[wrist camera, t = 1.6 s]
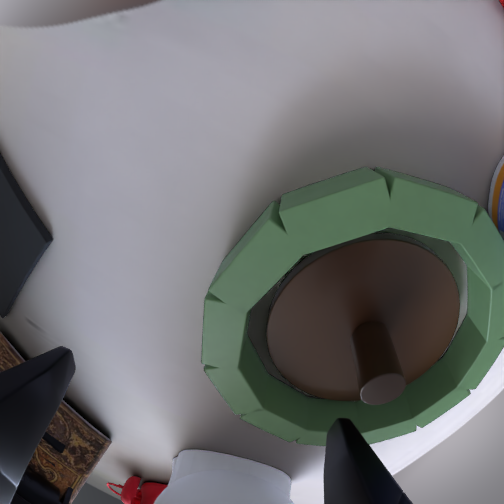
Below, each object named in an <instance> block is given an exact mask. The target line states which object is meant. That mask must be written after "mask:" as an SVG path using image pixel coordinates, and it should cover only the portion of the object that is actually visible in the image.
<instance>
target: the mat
mask: <svg viewBox="0 0 504 504" xmlns="http://www.w3.org/2000/svg"><path fill="white" fill-rule="evenodd" d="M52 240H53V238H52V237H51V235H50V234H49V232H48V231H47V229H46V228H45V226H44V225H43V224H42V222H41V221H40V219H39V218H38V216H37V215H36V213H35V211H34V210H33V208H32V207H31V205H30V204H29V202H28V200H27V199H26V197H25V196H24V194H23V192H22V191H21V189H20V187H19V186H18V184H17V182H16V181H15V179H14V177H13V175H12V174H11V172H10V170H9V168H8V166H7V165H6V163H5V161H4V159H3V157H2V155H1V153H0V316H1V317H2V318H4V317H5V316H7V314H8V312H9V310H10V308H11V306H12V304H13V303H14V301H15V299H16V297H17V295H18V294H19V292H20V290H21V289H22V287H23V285H24V283H25V282H26V280H27V278H28V277H29V275H30V274H31V272H32V270H33V269H34V267H35V266H36V264H37V262H38V261H39V259H40V258H41V256H42V255H43V253H44V252H45V250H46V249H47V247H48V246H49V244H50V243H51V242H52Z"/></svg>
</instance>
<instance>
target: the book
mask: <svg viewBox="0 0 504 504" xmlns="http://www.w3.org/2000/svg"><path fill="white" fill-rule="evenodd" d="M23 362H25V360H24V359H23V358H22V357H21V355H20V354H19V353H18V352H17V351H16V349H15V348H14V347H13V346H12V345H11V344H10V343H9V341H8V340H7V339H6V338H5V337H4V336H3V334H2V333H1V332H0V372H2V371H5V370H7V369H9V368H12V367H14V366H16V365H19V364H21V363H23ZM46 432H47V433H49V434H50V435H51V436H53V437H54V438H56V439H57V440H58V441H60V442H61V443H63V444H64V445H66V446H65V449H64V452H63V453H59V452H58V451H57V450H55V449H54V448H53V447H52V446H50V445H49V444H48V443H47V442H46V441H45V440H43V439H41V440H40V442H39V444H38V446H37V448H36V450H35V452H34V454H33V456H32V458H31V460H30V462H29V464H28V466H29V467H31V468H32V469H33V470H34V471H36V472H37V473H38V474H40V475H41V476H42V477H44V478H45V479H47V480H48V481H49V482H51V483H52V484H54V485H55V486H57V487H58V488H59V489H60V497H59V500H60V499H61V498H62V496H63V495H64V493H65V491H66V490H67V488H68V487H70V488H72V489H74V490H73V492H72V495H71V498H70V502H69V504H71V503H72V501H73V500H74V498H75V497H76V495H77V494H78V492H79V491H80V489H81V488H82V486H83V485H84V483H85V482H86V480H87V479H88V477H89V476H90V474H91V473H92V471H93V470H94V468H95V467H96V465H97V464H98V462H99V461H100V459H101V458H102V456H103V455H104V453H105V452H106V450H107V449H108V447H109V446H110V444H111V443H112V441H111V440H110V439H109V438H107V437H106V436H104V435H103V434H102V433H101V432H99V431H98V430H97V429H96V428H94V427H93V426H92V425H91V424H89V423H88V422H87V421H86V420H85V419H84V418H82V417H81V416H80V415H79V414H78V413H77V412H75V411H74V410H73V409H72V408H71V407H70V406H69V405H68V404H67V403H66V402H65V401H63V400H62V402H61V404H60V406H59V408H58V410H57V412H56V413H55V415H54V417H53V419H52V420H51V422H50V424H49V426H48V428H47V429H46ZM40 455H41V456H40ZM43 457H44V458H45V459H47V460H48V461H50V462H51V463H53V464H55V467H54V466H53V465H52V464H50V463H49V462H48V461H47V460H45V459H44V458H43Z"/></svg>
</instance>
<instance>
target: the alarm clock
mask: <svg viewBox="0 0 504 504" xmlns="http://www.w3.org/2000/svg"><path fill="white" fill-rule="evenodd" d="M140 480H141V478H139V477H136V476H132V477H130V478H129V479H128V480H127V481H126V483H125V484H124V486H122V485H120V484H119V485H116V484H113V483H107V486H108V487H109V488H110V489H111V490H112V491H113V492H114V493H116V494H118V495H120V496H121V500H122V501H123V502H124V503H125V504H154V502H155V500H156V499H157V497H158V496H159V495H160V494H161V493H162V491H163V490H164V489H165V488H166V487H168V485H164V484H159V483H144V484H142V486H141V489H137V488H138V486H139V483H140ZM109 484H110V485H114V486H116V487H119V488H123V489H122V492H121V494H119V493H117V492H116V491H114V490H113V489H112V488H111V487H110V486H109Z"/></svg>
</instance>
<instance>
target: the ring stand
mask: <svg viewBox="0 0 504 504" xmlns="http://www.w3.org/2000/svg"><path fill="white" fill-rule="evenodd" d="M459 309H460V301H459V292H458V288H457V284H456V282H455V279H454V277H453V275H452V273H451V271H450V270H449V268H448V267H447V265H446V264H445V263H444V262H443V261H442V260H441V259H440V258H439V257H438V256H437V255H436V254H435V253H434V252H433V251H432V250H431V249H430V248H428V247H427V246H425V245H424V244H422V243H420V242H418V241H416V240H414V239H412V238H409V237H406V236H402V235H398V234H391V233H371V234H368V235H365V236H362V237H359V238H356V239H352V240H349V241H346V242H343V243H340V244H337V245H334V246H331V247H328V248H325V249H321V250H318V251H315V252H314V253H312V254H311V255H309V256H308V257H307V258H305V259H304V260H303V261H302V262H300V263H299V264H298V265H297V266H296V267H295V268H294V269H293V270H292V271H291V272H290V273H289V275H288V276H287V277H286V278H285V279H284V281H283V282H282V284H281V285H280V287H279V288H278V290H277V292H276V294H275V296H274V299H273V301H272V304H271V307H270V311H269V316H268V323H267V331H266V335H267V346H268V350H269V354H270V356H271V359H272V361H273V363H274V364H275V366H276V368H277V369H278V371H279V372H280V373H281V374H282V375H283V377H284V378H285V379H287V380H288V381H289V382H290V383H291V384H292V385H294V386H295V387H297V388H298V389H300V390H302V391H304V392H306V393H308V394H311V395H314V396H316V397H320V398H324V399H329V400H336V401H360V400H362V401H363V402H365V403H367V404H371V405H380V404H385V403H388V402H390V401H392V400H394V399H396V398H397V397H398V396H400V395H401V394H402V392H403V391H404V389H405V387H406V385H408V384H410V383H412V382H413V381H414V380H416V379H417V378H419V377H420V376H421V375H423V374H424V373H425V372H426V371H427V370H429V369H430V368H431V367H432V366H433V365H434V364H435V363H436V361H437V360H438V359H439V358H440V357H441V355H442V354H443V353H444V351H445V350H446V348H447V346H448V345H449V343H450V341H451V339H452V337H453V335H454V332H455V329H456V326H457V323H458V318H459Z"/></svg>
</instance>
